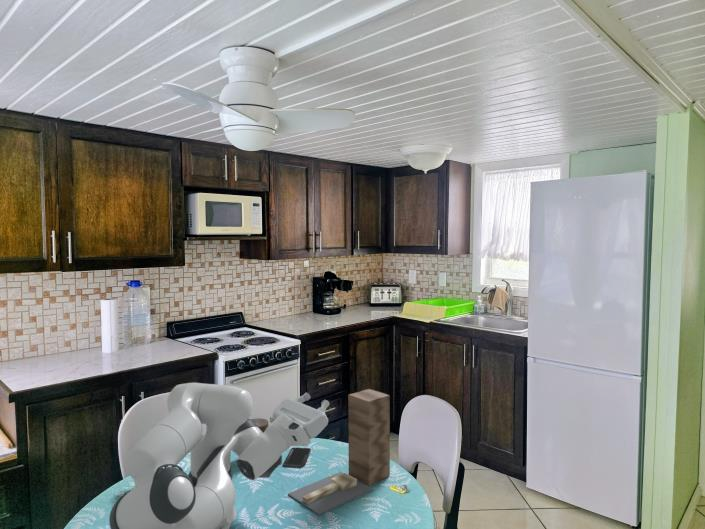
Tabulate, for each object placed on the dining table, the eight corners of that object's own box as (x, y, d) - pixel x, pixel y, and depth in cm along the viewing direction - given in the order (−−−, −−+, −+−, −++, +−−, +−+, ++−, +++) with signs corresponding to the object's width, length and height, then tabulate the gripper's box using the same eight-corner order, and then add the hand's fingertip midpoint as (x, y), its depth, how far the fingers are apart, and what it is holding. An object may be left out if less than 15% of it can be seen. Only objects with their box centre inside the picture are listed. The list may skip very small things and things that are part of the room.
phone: (282, 464, 172) (291, 447, 187) (282, 467, 172) (291, 450, 187) (304, 465, 171) (311, 448, 186) (304, 468, 171) (311, 451, 186)
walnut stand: (368, 485, 158) (368, 401, 157) (348, 475, 165) (348, 394, 164) (389, 476, 164) (389, 395, 163) (369, 466, 172) (369, 388, 171)
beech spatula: (311, 506, 144) (311, 499, 144) (299, 498, 149) (299, 492, 149) (356, 484, 157) (356, 478, 157) (344, 478, 162) (344, 472, 162)
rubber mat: (319, 515, 140) (319, 513, 140) (288, 494, 152) (288, 493, 152) (372, 490, 155) (372, 488, 155) (340, 473, 167) (340, 471, 167)
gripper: (271, 427, 150) (302, 398, 158) (310, 448, 135) (342, 413, 143) (262, 413, 148) (294, 383, 156) (301, 431, 133) (334, 397, 140)
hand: (317, 398), depth 149 cm, fingers open, 8 cm apart
